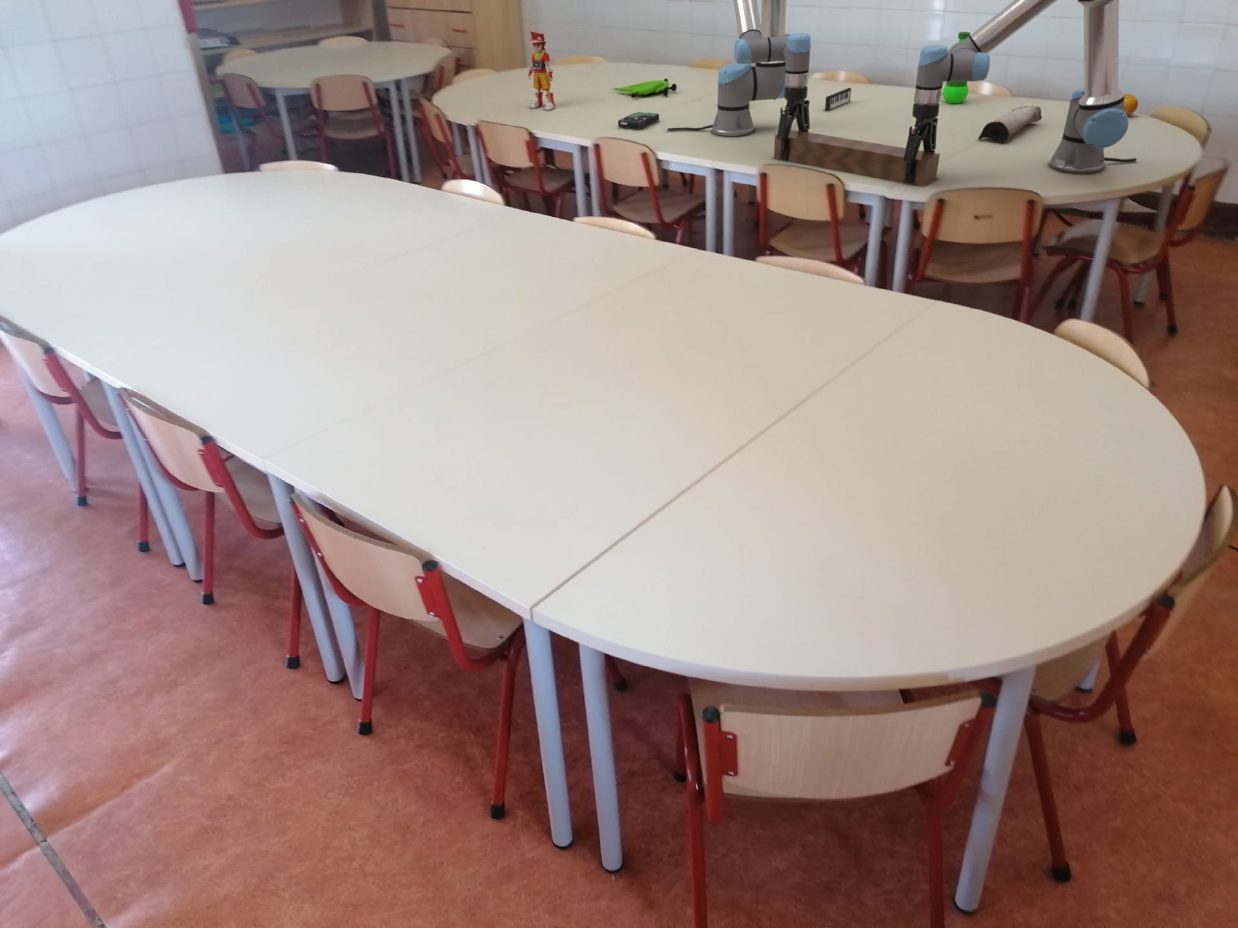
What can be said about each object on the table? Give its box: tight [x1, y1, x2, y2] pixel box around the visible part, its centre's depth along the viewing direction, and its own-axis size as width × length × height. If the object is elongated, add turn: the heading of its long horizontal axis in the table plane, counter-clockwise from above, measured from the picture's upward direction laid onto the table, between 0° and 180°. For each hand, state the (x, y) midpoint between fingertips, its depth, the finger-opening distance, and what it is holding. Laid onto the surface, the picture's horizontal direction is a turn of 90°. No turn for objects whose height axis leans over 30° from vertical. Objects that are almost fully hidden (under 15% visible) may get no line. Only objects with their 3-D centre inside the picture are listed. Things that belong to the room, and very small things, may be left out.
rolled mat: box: [977, 105, 1043, 144], centre depth 315 cm, size 30×9×10 cm
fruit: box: [1124, 93, 1139, 116], centre depth 325 cm, size 8×9×8 cm
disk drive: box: [617, 111, 660, 130], centre depth 351 cm, size 10×3×15 cm
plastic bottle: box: [942, 31, 971, 104], centre depth 348 cm, size 10×10×25 cm
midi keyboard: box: [824, 87, 852, 111], centre depth 358 cm, size 18×1×5 cm, turn 138°
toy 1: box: [527, 31, 556, 111], centre depth 374 cm, size 12×9×30 cm
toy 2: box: [612, 78, 677, 99], centre depth 396 cm, size 28×5×30 cm
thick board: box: [773, 129, 941, 187], centre depth 291 cm, size 55×9×8 cm, turn 47°
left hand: (792, 156), depth 306 cm, fingers closed on thick board, 9 cm apart
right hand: (916, 178), depth 280 cm, fingers closed on thick board, 9 cm apart
